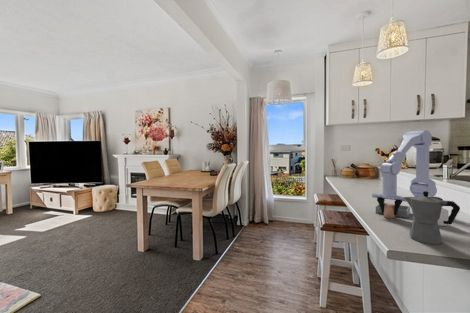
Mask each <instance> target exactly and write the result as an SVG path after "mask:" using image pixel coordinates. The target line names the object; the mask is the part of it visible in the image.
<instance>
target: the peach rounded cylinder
mask: <svg viewBox="0 0 470 313" xmlns="http://www.w3.org/2000/svg"><path fill="white" fill-rule="evenodd" d="M392 204H393V203H387V204H384V214H383V217H384V218H387V219H396V216H395V215H394V212H395V205H392Z"/></svg>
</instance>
